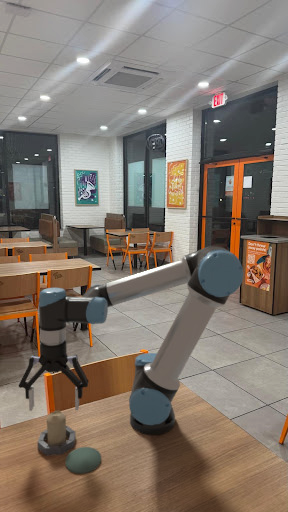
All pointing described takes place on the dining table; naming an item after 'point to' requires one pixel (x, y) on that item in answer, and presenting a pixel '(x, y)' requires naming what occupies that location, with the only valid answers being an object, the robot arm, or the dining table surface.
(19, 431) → the dining table surface
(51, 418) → the candle
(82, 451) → the coaster
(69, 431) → the holder ring
